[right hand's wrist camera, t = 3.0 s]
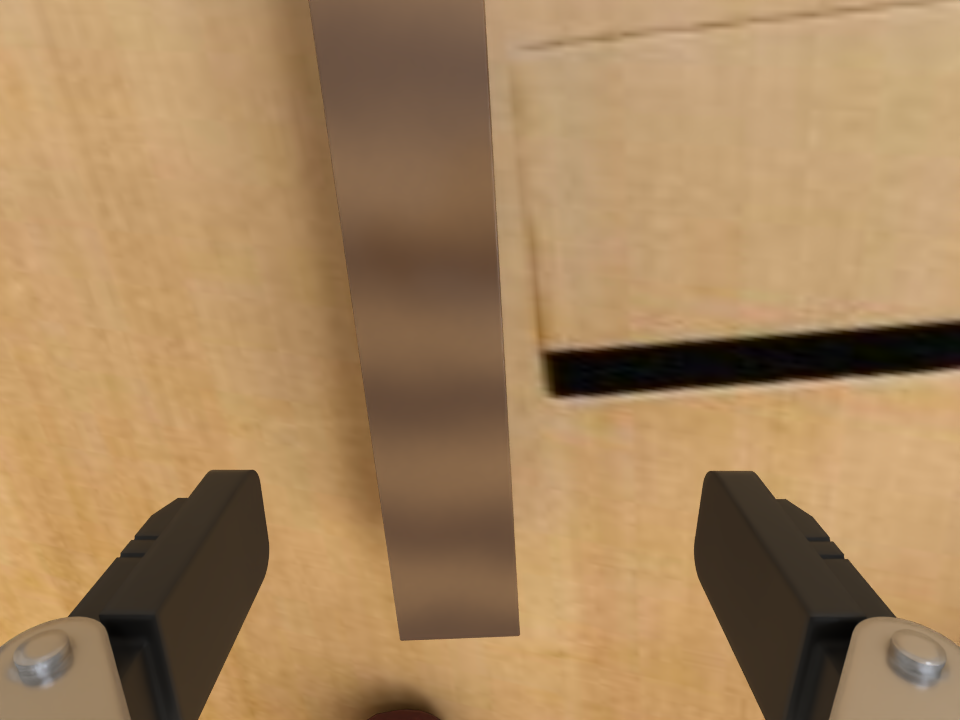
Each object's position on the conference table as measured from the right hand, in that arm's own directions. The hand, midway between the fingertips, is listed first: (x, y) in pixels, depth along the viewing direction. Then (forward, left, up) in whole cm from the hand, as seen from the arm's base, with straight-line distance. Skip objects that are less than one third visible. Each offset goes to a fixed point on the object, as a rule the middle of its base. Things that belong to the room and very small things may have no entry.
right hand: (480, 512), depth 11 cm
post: (+18, -6, -18) cm, 26 cm away
